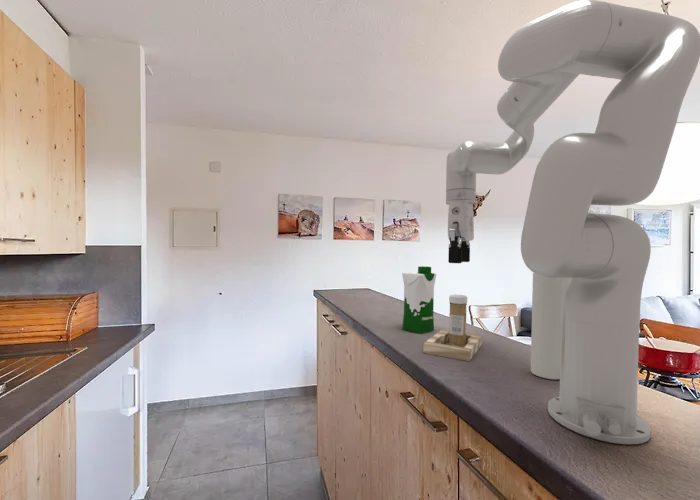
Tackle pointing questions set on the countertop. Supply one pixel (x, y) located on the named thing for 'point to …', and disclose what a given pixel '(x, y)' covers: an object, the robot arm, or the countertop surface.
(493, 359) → the countertop surface
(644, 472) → the countertop surface
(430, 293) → the milk carton
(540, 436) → the countertop surface
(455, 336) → the sprinkles bottle
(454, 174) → the robot arm
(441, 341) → the wooden frame
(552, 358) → the paper towel roll
